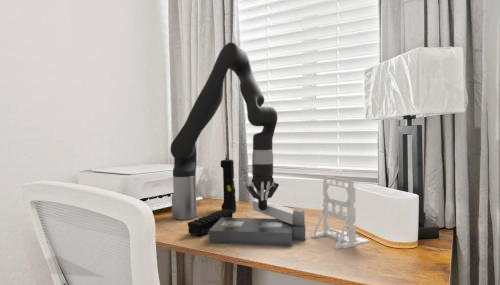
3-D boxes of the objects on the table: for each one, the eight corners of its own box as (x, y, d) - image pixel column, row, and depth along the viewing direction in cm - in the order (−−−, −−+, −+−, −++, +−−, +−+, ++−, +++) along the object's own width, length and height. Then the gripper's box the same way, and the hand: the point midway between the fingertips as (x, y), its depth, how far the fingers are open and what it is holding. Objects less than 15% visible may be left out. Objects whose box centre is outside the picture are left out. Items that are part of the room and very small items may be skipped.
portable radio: (235, 213, 142) (234, 155, 141) (221, 213, 142) (220, 155, 141) (236, 209, 150) (235, 154, 149) (223, 209, 150) (221, 154, 149)
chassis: (209, 243, 105) (208, 229, 105) (221, 228, 120) (221, 216, 120) (305, 246, 100) (305, 232, 100) (305, 230, 116) (305, 218, 115)
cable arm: (307, 224, 107) (307, 211, 107) (297, 226, 105) (297, 212, 105) (261, 208, 131) (261, 197, 131) (252, 209, 129) (252, 198, 129)
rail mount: (220, 221, 131) (220, 208, 131) (234, 223, 128) (234, 210, 128) (184, 236, 113) (184, 221, 113) (199, 239, 110) (199, 224, 109)
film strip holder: (373, 242, 102) (373, 178, 102) (339, 250, 96) (338, 181, 96) (341, 230, 115) (340, 173, 115) (309, 236, 109) (308, 176, 109)
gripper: (272, 160, 126) (272, 206, 126) (241, 162, 119) (241, 210, 120) (283, 162, 119) (283, 210, 120) (251, 164, 113) (251, 214, 113)
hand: (262, 210), depth 120 cm, fingers closed
